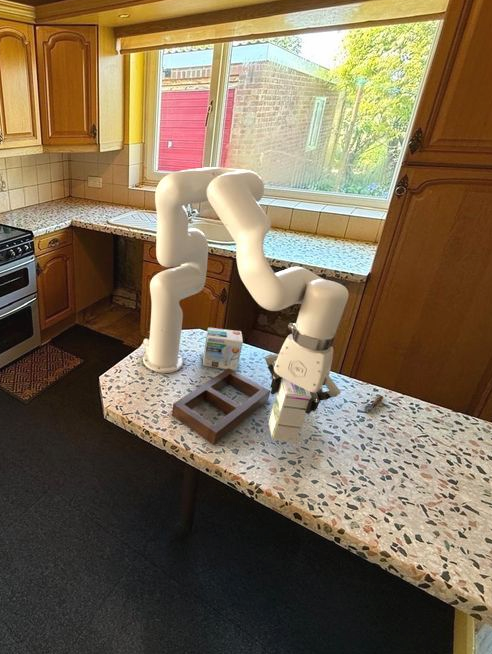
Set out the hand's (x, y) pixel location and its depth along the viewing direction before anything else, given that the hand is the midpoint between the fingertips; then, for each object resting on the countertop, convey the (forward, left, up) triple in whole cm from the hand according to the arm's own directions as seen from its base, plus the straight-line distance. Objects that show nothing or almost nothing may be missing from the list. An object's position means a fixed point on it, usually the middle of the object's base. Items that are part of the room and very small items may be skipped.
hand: (291, 400), depth 92 cm
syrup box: (0, 0, -11) cm, 11 cm away
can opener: (+10, +33, -13) cm, 37 cm away
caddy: (-16, -1, -13) cm, 21 cm away
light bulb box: (-29, +17, -13) cm, 37 cm away
